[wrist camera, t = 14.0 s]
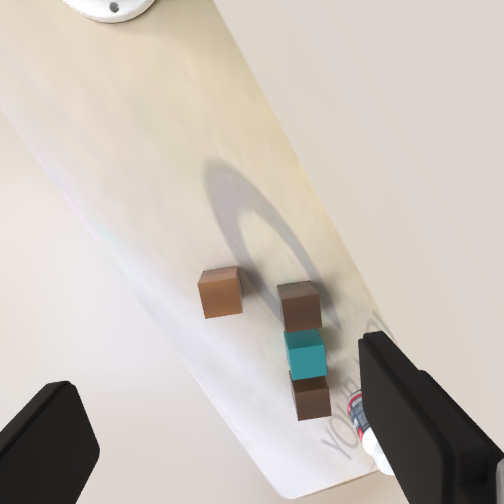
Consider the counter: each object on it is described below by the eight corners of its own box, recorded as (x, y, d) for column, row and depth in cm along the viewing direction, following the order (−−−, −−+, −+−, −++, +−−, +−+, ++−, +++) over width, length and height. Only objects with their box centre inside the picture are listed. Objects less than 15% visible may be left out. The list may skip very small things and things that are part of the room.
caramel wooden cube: (203, 271, 35) (197, 283, 31) (237, 265, 35) (236, 277, 31) (209, 302, 36) (205, 319, 32) (242, 297, 36) (242, 313, 32)
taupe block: (276, 285, 36) (281, 299, 32) (310, 280, 36) (318, 293, 32) (280, 315, 37) (285, 333, 33) (313, 310, 37) (322, 327, 33)
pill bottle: (339, 398, 41) (365, 457, 32) (371, 382, 40) (406, 437, 32) (355, 423, 42) (383, 486, 33) (386, 408, 41) (423, 467, 33)
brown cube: (288, 370, 39) (294, 393, 35) (319, 365, 39) (328, 387, 35) (292, 395, 40) (298, 421, 36) (322, 391, 40) (331, 415, 36)
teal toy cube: (283, 330, 38) (288, 350, 33) (315, 325, 38) (324, 344, 33) (287, 358, 39) (292, 380, 35) (318, 353, 39) (327, 375, 34)
